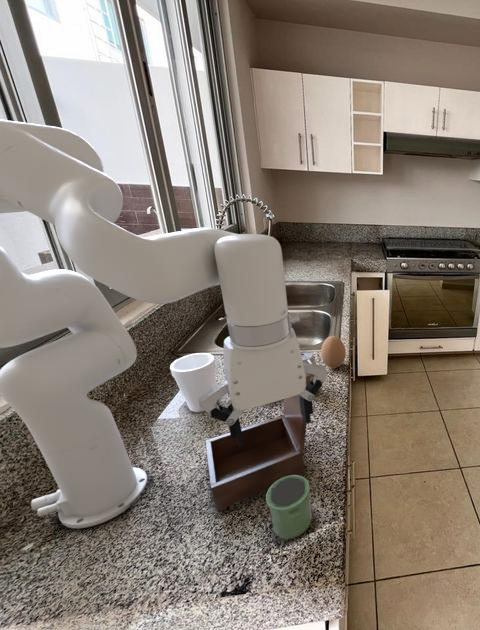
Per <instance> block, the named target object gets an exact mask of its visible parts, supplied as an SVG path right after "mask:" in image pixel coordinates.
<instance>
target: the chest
mask: <svg viewBox="0 0 480 630" xmlns="http://www.w3.org/2000/svg"><path fill="white" fill-rule="evenodd" d="M241 430H242V435H243V441H244V444H243V445H242V446H239V445H238V441H237V438H236V439H233V440H232V439H231V435H230V432H228V433H224V434H222V435H218V436H215V437H212V438H209V439H206V440H205V450H206V451H205V452H206V458H207V466H208V475H209V484H210V490H211V494H212V497H213V503H214V506H215V509H216V511H217V512H218V511H220V510H223V509H225V508H227V507H228V508H229V507H230V506H233V505H234V504H237V503H239V502H242V501H244V500H246V499H249V498H252V497H254V496H256V495H258V494H260V493H263V492H266V491H268V490H269V488H270V487H271V486H272V485H273V484H274V483H275V482H276V481H277V480H279V479H281V478H283V477H286V476H290V475H299V476H303V475H305V474H306V471H305V462H304V456H303V451H300V450H299V448H298V445H297V443H296V441H295V439H294V436H293V434H292V432H291V430H290V427H289V425H288V423H287V421H286V419H285V416H284V414H282V415H279V416H276V417H273V418H270V419H267V420H264V421H261V422H258V423H255V424H252V425H249V426H246V427H241Z"/></svg>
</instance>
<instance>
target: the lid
mask: <svg viewBox="0 0 480 630" xmlns="http://www.w3.org/2000/svg"><path fill="white" fill-rule="evenodd" d="M305 363H310V364H315V365H317V363H316V362H315V359H314V360H313V359H309V360H307V362H305ZM314 376H315V375H313V374H307V373H305V377H306V385H308V384H309V382H310V379H311V377H314ZM282 409H283V410H282V415H284V416H285V419H286V421H287V423H288V425H289V427H290V430H291V432H292V434H293V436H294V439H295V441H296V443H297V445H298V448H299V450H300V451H302V452H303V451H305V444H306V432H307V423H306V422H305V421H304V419H303V417H302V415H301V410H300V400H299V395H296V396H292V397H289V398H286V399H283V408H282Z"/></svg>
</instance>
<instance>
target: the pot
mask: <svg viewBox="0 0 480 630" xmlns="http://www.w3.org/2000/svg"><path fill="white" fill-rule="evenodd" d="M310 491H311V488H310V482H309V480H308V479H307V478H306V477H304V476H303V475H301V476H299V475H290V476H286V477H283V478H281V479H279V480H277V481H276V482H275V483H274V484H273V485H272V486H271V487H270V488H269V489H268V490H267V492H266V494H265V502H266V505H267V507H268V508H269V512H270V513H269V514H270V519H271V523H272V528H273V532H274V534H275V536H277V537H278V538H279V539H284V540H285V539H286V540H288V539H294V538H296V537H299V536H300V535H302V534H303V533H305V531H306V530H307V529H308V528H309V526H310V525H311V524H312V523H311V522H312V519H313V514H312V507H311V499H310Z"/></svg>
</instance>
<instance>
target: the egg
mask: <svg viewBox="0 0 480 630" xmlns="http://www.w3.org/2000/svg"><path fill="white" fill-rule="evenodd" d="M346 353H347V352H346V347H345V344H344V342H343V341H342V340H341V339H340V337H338V336H336V335H330V336H328V337H327V338H325V339H324V341H323V343H322V345H321V349H320V356H321V361H322V362H323V363H324V364H325V366H326V367H328V368H331V369H337V368H339V367H341V366H342V365H343V363H344V362H345V361H346V360H345V359H346V355H347V354H346Z"/></svg>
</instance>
